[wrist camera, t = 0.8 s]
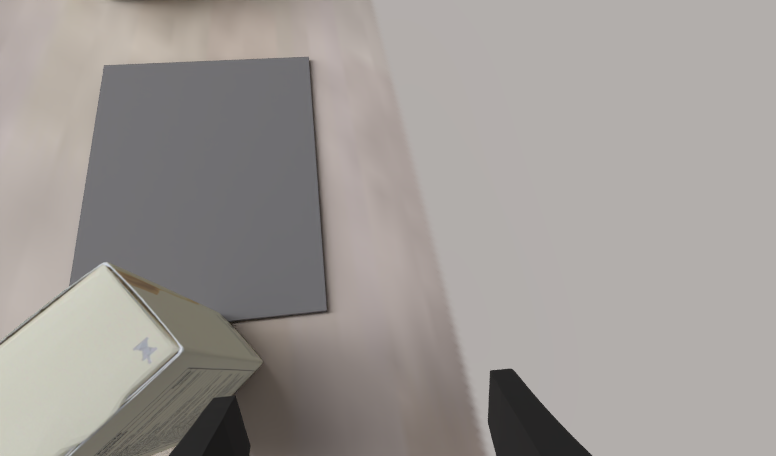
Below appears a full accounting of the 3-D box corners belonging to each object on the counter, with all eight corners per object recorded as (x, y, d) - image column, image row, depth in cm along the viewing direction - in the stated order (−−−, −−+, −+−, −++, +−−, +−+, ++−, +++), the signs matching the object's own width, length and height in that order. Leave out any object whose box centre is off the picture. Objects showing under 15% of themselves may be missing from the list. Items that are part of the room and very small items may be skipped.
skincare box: (218, 309, 26) (112, 248, 14) (266, 363, 25) (195, 343, 14) (123, 392, 24) (-85, 398, 13) (173, 453, 23) (-2, 518, 12)
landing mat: (326, 311, 27) (326, 310, 26) (64, 339, 25) (60, 338, 25) (308, 59, 34) (308, 56, 34) (106, 68, 33) (104, 65, 32)
